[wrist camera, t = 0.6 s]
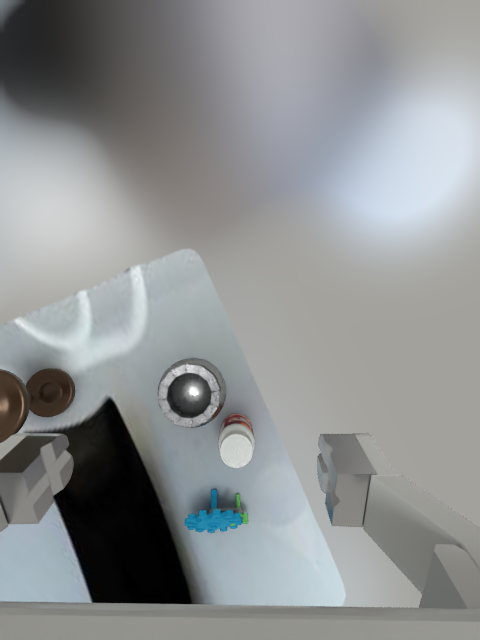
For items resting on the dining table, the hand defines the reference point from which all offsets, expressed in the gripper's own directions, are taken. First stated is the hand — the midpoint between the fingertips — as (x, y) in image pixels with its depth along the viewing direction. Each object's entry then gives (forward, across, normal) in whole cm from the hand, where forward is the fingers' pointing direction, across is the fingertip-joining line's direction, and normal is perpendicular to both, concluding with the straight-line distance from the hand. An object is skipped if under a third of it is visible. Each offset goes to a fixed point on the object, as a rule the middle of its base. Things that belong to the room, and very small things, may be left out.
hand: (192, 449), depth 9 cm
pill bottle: (+38, 0, -30) cm, 49 cm away
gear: (+33, -4, -43) cm, 54 cm away
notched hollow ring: (+41, -9, -23) cm, 47 cm away
